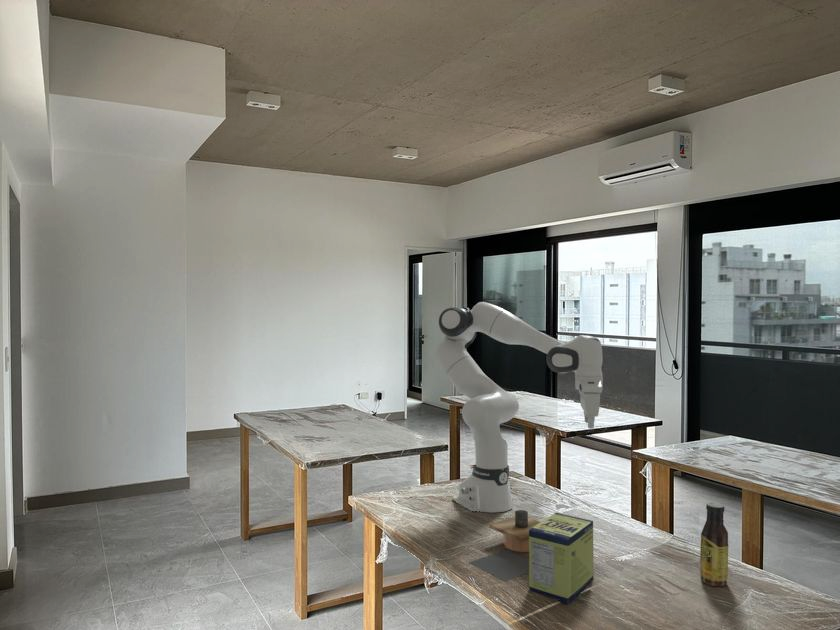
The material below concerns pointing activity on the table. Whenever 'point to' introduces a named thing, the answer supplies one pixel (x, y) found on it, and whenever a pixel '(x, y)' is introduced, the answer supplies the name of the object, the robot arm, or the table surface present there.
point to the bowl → (515, 544)
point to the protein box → (561, 556)
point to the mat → (503, 565)
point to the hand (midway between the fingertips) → (589, 425)
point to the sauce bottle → (714, 547)
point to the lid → (516, 526)
